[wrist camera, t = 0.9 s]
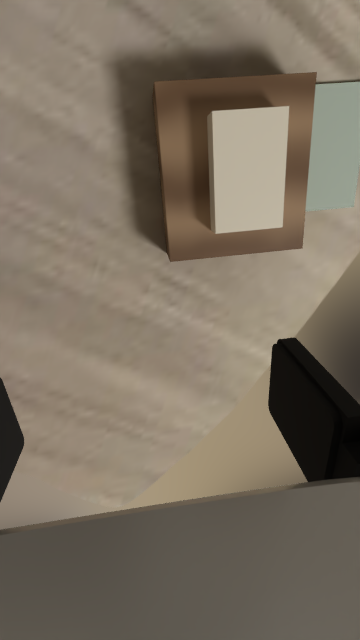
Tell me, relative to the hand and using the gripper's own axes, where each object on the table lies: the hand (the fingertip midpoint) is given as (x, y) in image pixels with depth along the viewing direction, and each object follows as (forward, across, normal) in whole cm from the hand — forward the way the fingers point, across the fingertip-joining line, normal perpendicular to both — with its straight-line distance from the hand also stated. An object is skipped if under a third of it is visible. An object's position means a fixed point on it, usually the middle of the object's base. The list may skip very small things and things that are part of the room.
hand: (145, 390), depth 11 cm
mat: (+24, -19, -8) cm, 32 cm away
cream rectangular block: (+20, -10, -6) cm, 23 cm away
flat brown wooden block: (+24, -9, -6) cm, 27 cm away
